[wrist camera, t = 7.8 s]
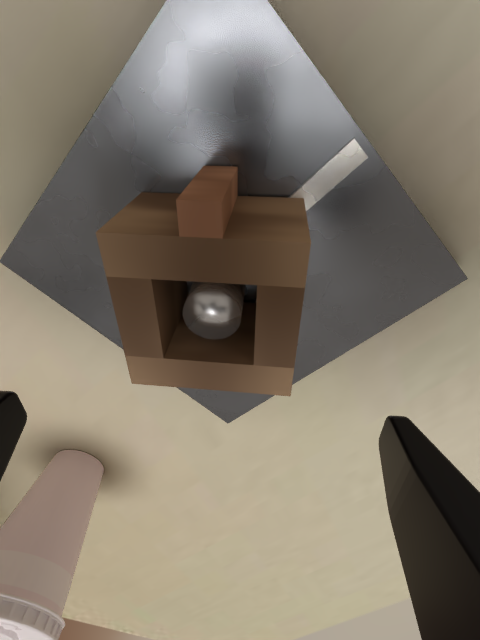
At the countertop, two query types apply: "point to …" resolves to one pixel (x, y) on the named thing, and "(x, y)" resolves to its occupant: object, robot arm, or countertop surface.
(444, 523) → the robot arm
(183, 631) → the countertop surface
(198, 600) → the countertop surface
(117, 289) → the wooden cubby with handle
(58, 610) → the smoothie
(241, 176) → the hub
